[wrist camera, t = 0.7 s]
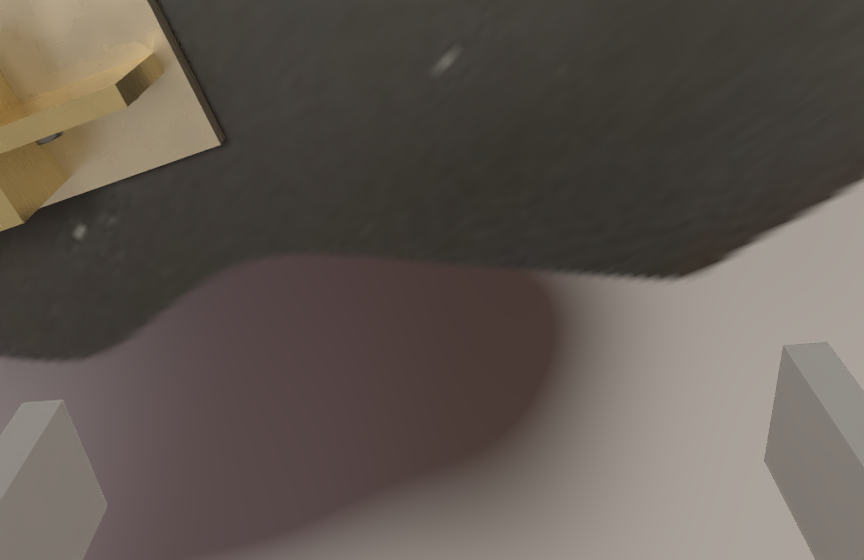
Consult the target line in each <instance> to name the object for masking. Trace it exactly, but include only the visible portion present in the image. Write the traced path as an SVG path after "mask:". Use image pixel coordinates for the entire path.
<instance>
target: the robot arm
mask: <svg viewBox="0 0 864 560" xmlns="http://www.w3.org/2000/svg"><path fill="white" fill-rule="evenodd" d="M764 461H765V463H766V465H767V467H768V468H769V470H770V472H771V474H772V476H773V478H774V480H775V482H776V484H777V486H778V488H779V490H780V492H781V494H782V496H783V497H784V500H785V501H786V503H787V505H788V507H789V509H790V511H791V513H792V515H793V517H794V519H795V521H796V522H797V525H798V527H799V529H800V530H801V533H802V534H803V536H804V538H805V540H806V542H807V544H808V546H809V548H810V550H811V552H812V554H813V556H814V558H815V560H864V391H863V389H862V388H861V387H860V385H859V384H858V383H857V382H856V380H855V379H854V377H853V376H852V375H851V373H850V372H849V371H848V369H847V368H846V367H845V365H844V364H843V363H842V362H841V360H840V359H839V358H838V356H837V355H836V353H835V352H834V351H833V349H832V348H831V347H830V346H829V344H828V343H827V342H826V343H825V342H824V343H811V344H798V345H784V346H783V351H782V357H781V363H780V369H779V375H778V381H777V387H776V393H775V399H774V405H773V411H772V417H771V423H770V429H769V435H768V442H767V447H766V453H765V459H764ZM107 506H108V505H107V503H106V500H105V498H104V496H103V493H102V491H101V488H100V486H99V484H98V481H97V479H96V477H95V474H94V472H93V470H92V467H91V465H90V462H89V460H88V458H87V456H86V453H85V451H84V449H83V446H82V444H81V441H80V439H79V436H78V434H77V432H76V429H75V427H74V425H73V422H72V420H71V417H70V415H69V413H68V410H67V408H66V406H65V403H64V401H63V400H52V401H39V402H25V403H22V405H21V406H20V407H19V409H18V411H17V412H16V413H15V415H14V416H13V418H12V419H11V421H10V422H9V424H8V425H7V427H6V428H5V429H4V431H3V432H2V434H1V435H0V560H83V558H84V556H85V553H86V551H87V549H88V547H89V545H90V543H91V541H92V538H93V536H94V534H95V532H96V530H97V528H98V525H99V523H100V521H101V519H102V517H103V515H104V513H105V510H106V508H107Z"/></svg>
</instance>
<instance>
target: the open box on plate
mask: <svg viewBox="0 0 864 560" xmlns="http://www.w3.org/2000/svg"><path fill="white" fill-rule="evenodd" d="M224 139H225V136H224V134H223V132H222V130H221V128H220V126H219V124H218V122H217V120H216V118H215V116H214V114H213V112H212V110H211V108H210V106H209V104H208V102H207V100H206V98H205V96H204V94H203V92H202V90H201V88H200V86H199V84H198V82H197V80H196V78H195V76H194V74H193V72H192V71H191V69H190V67H189V65H188V63H187V61H186V59H185V57H184V55H183V53H182V51H181V49H180V47H179V45H178V43H177V41H176V39H175V37H174V35H173V33H172V31H171V29H170V27H169V25H168V23H167V21H166V19H165V17H164V15H163V13H162V11H161V9H160V7H159V5H158V3H157V1H156V0H0V231H3V230H6V229H8V228H11V227H14V226H17V225H20V224H23V223H25V222H26V221H27V220H28V219H29V218H30V217H31V216H32V215H33V214H34V213H35V212H36V211H37V210H38V209H39V208H42V207H44V206H47V205H50V204H53V203H56V202H59V201H62V200H64V199H67V198H70V197H73V196H76V195H79V194H82V193H84V192H87V191H90V190H93V189H96V188H99V187H102V186H104V185H107V184H110V183H113V182H116V181H119V180H122V179H124V178H127V177H130V176H133V175H136V174H139V173H142V172H144V171H147V170H150V169H153V168H156V167H159V166H162V165H164V164H167V163H170V162H173V161H176V160H179V159H182V158H184V157H187V156H190V155H193V154H196V153H199V152H202V151H204V150H207V149H210V148H213V147H216V146H219V145H221V144H222V142H223V141H224Z"/></svg>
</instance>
